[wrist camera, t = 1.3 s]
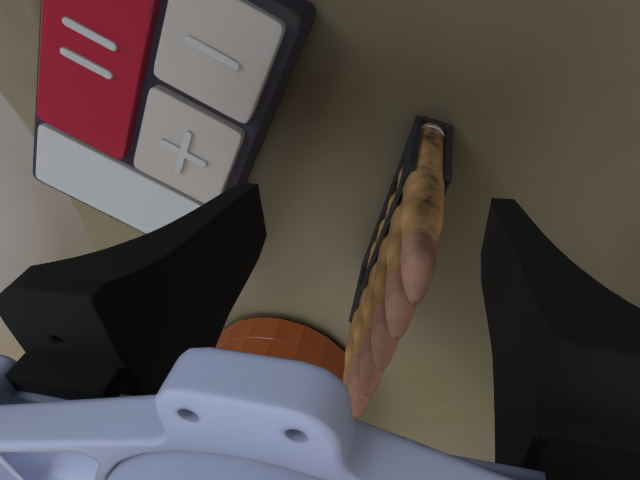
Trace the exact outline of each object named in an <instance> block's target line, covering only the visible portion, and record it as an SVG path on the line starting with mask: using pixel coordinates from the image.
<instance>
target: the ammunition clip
mask: <svg viewBox="0 0 640 480" xmlns="http://www.w3.org/2000/svg"><path fill="white" fill-rule="evenodd" d="M452 140H453V126H452V125H451V124H448V123H444V122H441V121H438V120H434V119H431V118H427V117H424V116H421V115H418V116H416V119H415V122H414V124H413V127H412V130H411V133H410V135H409V138H408V141H407V144H406V146H405V149H404V152H403V154H402V157H401V160H400V163H399V165H398V168H397V171H396V173H395V176H394V179H393V182H392V184H391V187H390V190H389V192H388V195H387V198H386V201H385V203H384V206H383V209H382V212H381V214H380V217H379V220H378V222H377V225H376V228H375V231H374V233H373V236H372V239H371V241H370V244H369V247H368V250H367V252H366V255H365V258H364V260H363V263H362V267H361V271H360V276H359V280H358V284H357V288H356V293H355V297H354V301H353V306H352V310H351V314H350V318H349V322H351V327H350V332H349V336H348V341H347V345H346V350H345V369H344V375H343V382H344V384H345V386H346V388H347V391H348V393H349V395H350V397H351V413H352V417H353V418H355V419H357V420H359V418H360V416H361V414H362V413H363V411H364V410H365V408H366V406H367V404H368V401H369V399H370V397H371V394H372V393H373V392H374V390H375V389H376V387H377V385H378V383H379V381H380V379H381V377H382V374H383V371H384V369H385V368H386V367H387V365H388V364H389V362H390V361H391V359H392V356H393V354H394V352H395V350H396V347H397V344H398V342H399V340H400V339H401V338H402V336H403V335H404V334H405V332H406V330H407V328H408V326H409V324H410V322H411V320H412V317H413V314H414V311H415V307H416V305H417V304H419V303H420V302H421V300H422V299H423V298H424V296H425V294H426V292H427V290H428V288H429V286H430V283H431V281H432V278H433V274H434V269H435V264H436V252H437V248H438V240H439V234H440V232H441V229H442V227H443V222H444V195H445V193H446V191H447V189H448V187H449V184H450V182H451V179H452Z"/></svg>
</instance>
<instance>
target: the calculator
mask: <svg viewBox="0 0 640 480" xmlns="http://www.w3.org/2000/svg"><path fill="white" fill-rule="evenodd" d="M314 17H315V9H314V7H313V6H312V4H310V3H309V2H308V1H306V0H41V7H40V28H39V49H38V71H37V92H36V113H35V134H34V156H33V174H34V176H35V178H36V179H37V180H39V181H40V182H43V183H45V184H46V185H48V186H50V187H52V188H54V189H57V190H58V191H60V192H63V193H64V194H67V195H69V196H71V197H73V198H75V199H77V200H79V201H81V202H83V203H85V204H87V205H89V206H91V207H93V208H95V209H97V210H99V211H101V212H103V213H105V214H107V215H109V216H111V217H113V218H115V219H117V220H119V221H121V222H123V223H125V224H127V225H129V226H131V227H133V228H135V229H137V230H139V231H141V232H143V233H145V234H147V233H150V232H152V231H154V230H157V229H159V228H161V227H163V226H165V225H167V224H169V223H171V222H173V221H175V220H176V219H178V218H180V217H182V216H184V215H186V214H187V213H189V212H191V211H193V210H195V209H196V208H198V207H200V206H201V205H203V204H205V203H206V202H208V201H210V200H211V199H213V198H215V197H216V196H218V195H220V194H221V193H223V192H225V191H226V190H228V189H230V188H232V187H233V186H235V185H238V184H240V183H246V180H247V178H248V175H249V173H250V171H251V168H252V166H253V164H254V161H255V159H256V156H257V154H258V152H259V149H260V147H261V144H262V142H263V140H264V137H265V135H266V133H267V130H268V128H269V125H270V123H271V121H272V118H273V116H274V113H275V111H276V109H277V106H278V104H279V102H280V99H281V97H282V94H283V92H284V90H285V87H286V85H287V82H288V80H289V78H290V75H291V73H292V71H293V68H294V66H295V63H296V61H297V59H298V56H299V54H300V51H301V49H302V47H303V44H304V42H305V40H306V37H307V35H308V32H309V30H310V28H311V25H312V23H313V20H314Z"/></svg>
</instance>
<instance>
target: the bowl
mask: <svg viewBox="0 0 640 480" xmlns="http://www.w3.org/2000/svg"><path fill="white" fill-rule="evenodd" d="M216 348H220V349H227V350H234V351H240V352H247V353H253V354H260V355H267V356H273V357H280V358H287V359H293V360H300V361H306V362H309V363H312V364H315V365H318V366H321V367H324V368H326V369H327V370H329V371H330V372H331V373H333V374H334V375H336V376H337V377H338V378H340V379H341V380H342V381H343V375H344V369H345V352H344V351H343V350H342V349H341V348H340V347H338V346H337V345H336V344H335V343H334V342H333V341H332V340H330V339H329V338H328V337H326V336H325V335H323V334H321V333H319V332H317V331H315V330H313V329H311V328H309V327H308V326H305V325H302V324H298V323H295V322H291V321H288V320H285V319H281V318H267V317H255V318H250V319H245V320H240V321H237V322H236V323H234V324H232V325H231V326H229V327H227V328H226V329H224V330H223V332H222V333H221V335H220V337H219V340H218V342H217V345H216Z"/></svg>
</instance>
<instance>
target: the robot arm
mask: <svg viewBox="0 0 640 480" xmlns="http://www.w3.org/2000/svg"><path fill="white" fill-rule="evenodd" d="M266 236H267V234H266V228H265V222H264V216H263V211H262V205H261V199H260V193H259V187H258V184H248V183H240V184H238V185H235V186H233V187H232V188H230V189H228V190H226V191H225V192H223V193H221V194H220V195H218V196H216V197H215V198H213V199H211V200H210V201H208V202H206V203H205V204H203V205H201V206H200V207H198V208H196V209H195V210H193V211H191V212H189V213H187V214H186V215H184V216H182V217H180V218H178V219H176V220H175V221H173V222H171V223H169V224H167V225H165V226H163V227H161V228H159V229H157V230H154V231H152V232H150V233H147V234H145V235H143V236H140V237H138V238H135V239H132V240H130V241H127V242H124V243H121V244H118V245H116V246H113V247H110V248H107V249H103V250H100V251H96V252H93V253H89V254H85V255H82V256H78V257H74V258H69V259H65V260H60V261H55V262H50V263H45V264H39V265H34V266H31V267H29V268H28V269H27V270H26V271H25V272H24V273H23V274H21V275H20V276H19V277H18V278H17V279H16V280H15V281H14V282H13V283H11V284H10V285H9V286H8V287H7V288H6V289H4V290H3V291H2V292H1V293H0V316H1V318H2V319H3V321H4V323H5V324H6V326H7V327H8V328H9V330H10V331H11V332H12V334H13V335H14V336H15V338H16V340H17V341H18V342H19V344H20V345H21V346H22V348H23V349H24V351H25V352H26V353H25V354H24V355H23V356H22V357H21V358H20V359H19V360H18V361H17V362H16V361H15V360H14V359H12V358H10V357H7V356H4V355H0V480H640V308H638V307H636V306H635V305H633V304H631V303H629V302H628V301H626V300H625V299H623V298H621V297H620V296H618V295H617V294H615V293H614V292H612V291H611V290H609V289H608V288H606V287H605V286H603V285H602V284H600V283H599V282H597V281H596V280H595V279H593V278H592V277H591V276H590V275H588V274H587V273H586V272H584V271H583V270H582V269H581V268H579V267H578V266H577V265H576V264H575V263H573V262H572V261H571V260H570V259H569V258H568V257H567V256H566V255H564V254H563V253H562V252H561V251H560V250H559V249H558V248H557V247H556V246H555V245H554V244H553V243H552V242H551V241H550V240H549V239H548V238H547V237H546V236H545V235H544V234H543V233H542V231H541V230H540V229H539V228H538V227H537V226H536V225H535V223H534V222H533V221H532V220H531V219H530V218H529V216H528V215H527V214H526V213H525V212H524V210H523V209H522V208H521V207H520V205H519V204H518V203H517V202H516V201H515V200H514V199H499V198H492V199H491V205H490V210H489V215H488V220H487V225H486V230H485V236H484V241H483V246H482V251H481V282H482V289H483V295H484V302H485V308H486V314H487V320H488V327H489V333H490V339H491V346H492V356H493V378H494V409H495V463H493V462H487V461H482V460H477V459H471V458H466V457H460V456H455V455H450V454H447V453H444V452H442V451H439V450H437V449H434V448H431V447H429V446H426V445H423V444H421V443H418V442H415V441H413V440H410V439H407V438H405V437H402V436H400V435H397V434H394V433H392V432H389V431H386V430H384V429H381V428H378V427H376V426H373V425H370V424H368V423H365V422H362V421H360V420H357V419H355V418H353V417H352V413H351V397H350V395H349V393H348V391H347V388H346V386H345V384H344V382H343V381H342V380H341V379H340V378H338V377H337V376H336V375H334V374H333V373H331V372H330V371H329V370H327V369H326V368H324V367H321V366H318V365H315V364H312V363H309V362H306V361H300V360H293V359H287V358H280V357H273V356H267V355H260V354H253V353H247V352H240V351H234V350H227V349H220V348H216V345H217V342H218V340H219V337H220V335H221V332H222V330H223V327H224V325H225V322H226V320H227V318H228V316H229V314H230V311H231V309H232V308H233V306H234V304H235V302H236V300H237V298H238V296H239V295H240V293H241V291H242V289H243V287H244V285H245V284H246V282H247V280H248V278H249V276H250V274H251V272H252V270H253V268H254V267H255V265H256V263H257V261H258V259H259V256H260V253H261V250H262V248H263V245H264V242H265V239H266Z"/></svg>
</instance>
